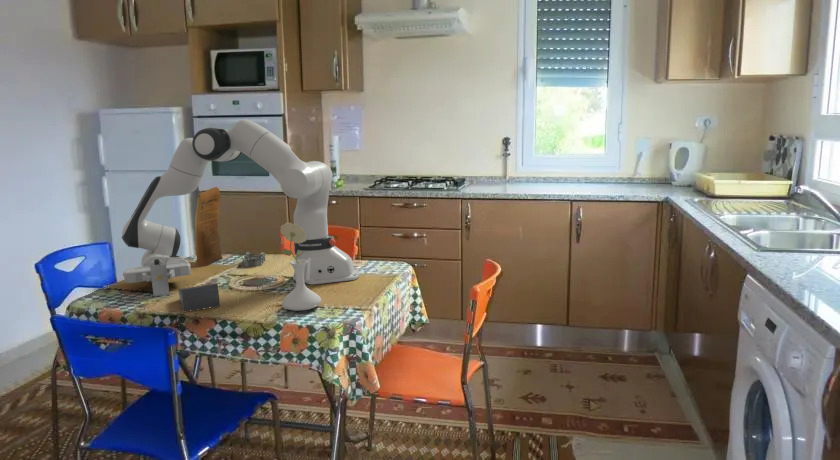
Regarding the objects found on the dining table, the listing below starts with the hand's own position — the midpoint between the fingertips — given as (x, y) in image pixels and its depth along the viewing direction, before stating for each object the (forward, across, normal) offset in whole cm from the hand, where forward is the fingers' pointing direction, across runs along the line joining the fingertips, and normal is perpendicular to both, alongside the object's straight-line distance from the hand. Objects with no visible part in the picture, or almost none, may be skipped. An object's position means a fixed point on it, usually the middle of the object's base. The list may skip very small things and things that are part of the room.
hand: (159, 277), depth 200 cm
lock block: (-1, 0, +6) cm, 6 cm away
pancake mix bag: (-36, +20, +6) cm, 42 cm away
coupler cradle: (+16, +10, +6) cm, 20 cm away
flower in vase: (+36, +35, +6) cm, 51 cm away
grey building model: (-24, +34, +6) cm, 43 cm away
